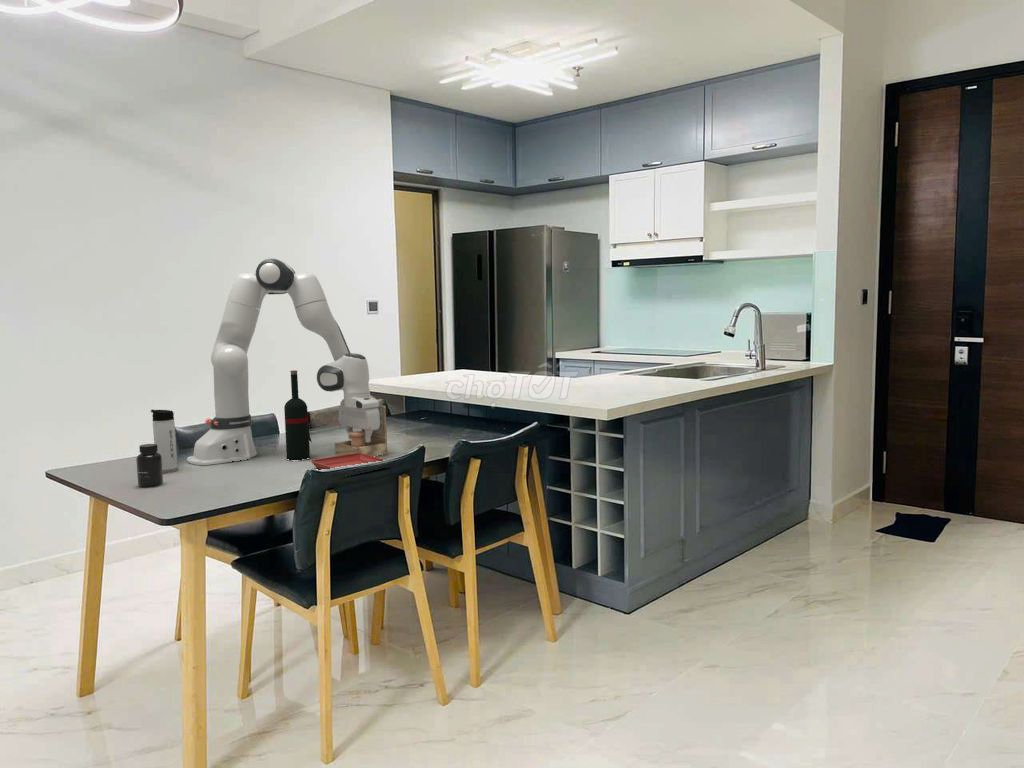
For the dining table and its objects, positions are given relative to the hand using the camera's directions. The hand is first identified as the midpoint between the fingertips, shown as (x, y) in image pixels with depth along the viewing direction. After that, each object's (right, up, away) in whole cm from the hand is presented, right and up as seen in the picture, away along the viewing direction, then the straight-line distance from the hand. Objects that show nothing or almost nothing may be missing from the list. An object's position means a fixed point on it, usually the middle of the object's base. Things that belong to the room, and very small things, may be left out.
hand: (359, 440), depth 264 cm
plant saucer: (+1, -8, -21) cm, 22 cm away
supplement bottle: (-54, -11, -37) cm, 67 cm away
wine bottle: (-19, -6, -3) cm, 20 cm away
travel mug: (-58, -9, -19) cm, 62 cm away
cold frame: (0, -5, +1) cm, 5 cm away
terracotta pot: (0, -5, 0) cm, 5 cm away
